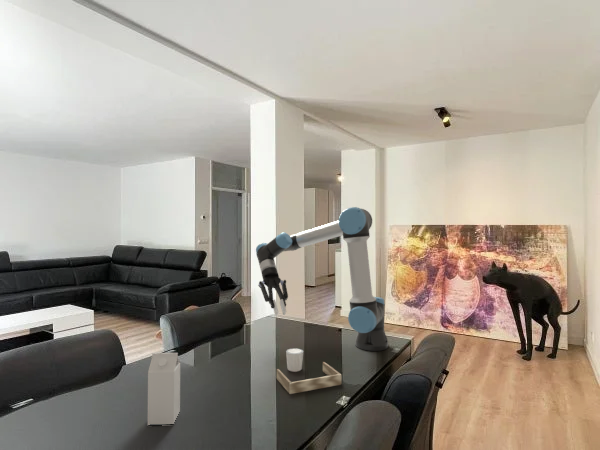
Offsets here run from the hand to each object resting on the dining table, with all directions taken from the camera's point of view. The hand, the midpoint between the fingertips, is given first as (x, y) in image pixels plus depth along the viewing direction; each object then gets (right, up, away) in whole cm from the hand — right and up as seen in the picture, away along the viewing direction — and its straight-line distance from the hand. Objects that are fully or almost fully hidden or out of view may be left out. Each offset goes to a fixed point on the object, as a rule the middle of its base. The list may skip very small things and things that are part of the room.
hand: (280, 313), depth 158 cm
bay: (+11, -18, -27) cm, 34 cm away
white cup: (+6, -18, -15) cm, 24 cm away
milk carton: (-31, -18, -54) cm, 64 cm away
